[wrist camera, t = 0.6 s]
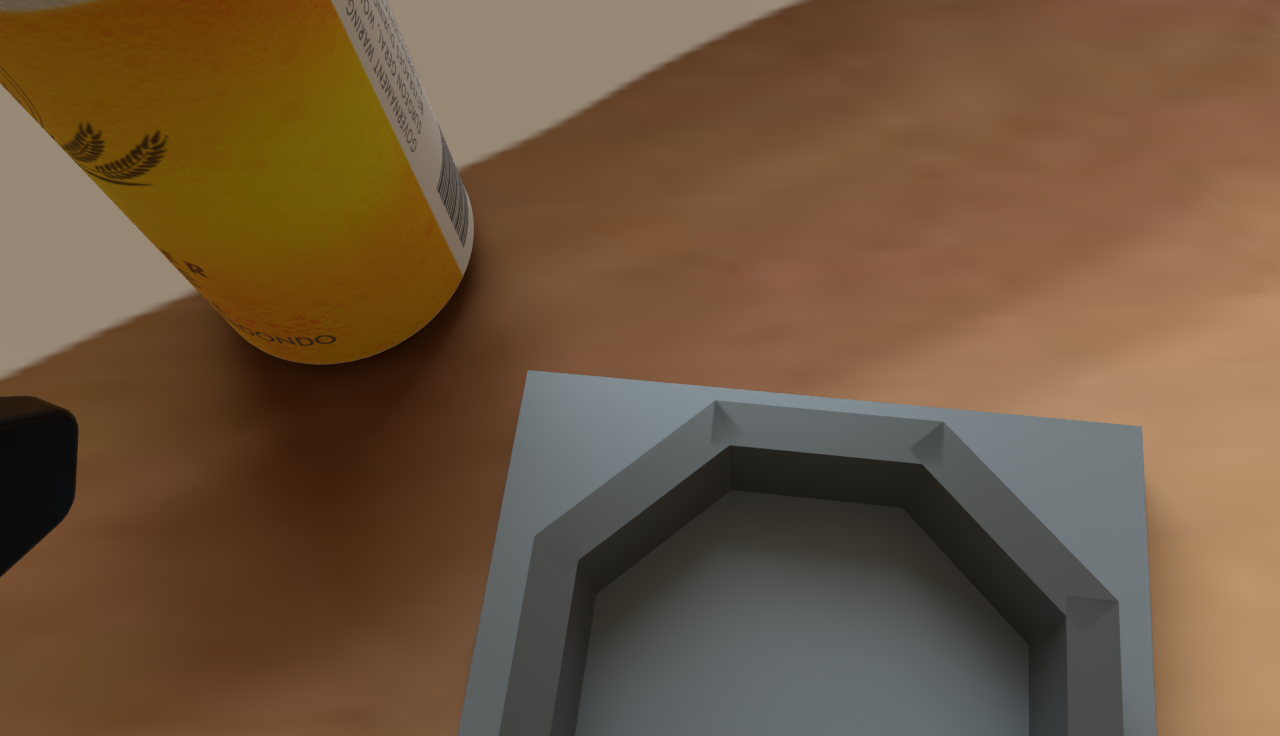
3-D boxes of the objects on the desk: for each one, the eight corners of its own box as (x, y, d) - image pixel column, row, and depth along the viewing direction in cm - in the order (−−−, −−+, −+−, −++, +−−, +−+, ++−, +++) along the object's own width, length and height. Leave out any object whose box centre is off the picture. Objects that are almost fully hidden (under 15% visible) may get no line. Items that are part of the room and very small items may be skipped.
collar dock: (1144, 1158, 18) (1249, 1235, 14) (422, 1032, 19) (346, 1070, 16) (1117, 452, 22) (1190, 373, 19) (540, 398, 24) (504, 314, 20)
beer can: (216, 187, 27) (-319, -500, 13) (457, 126, 27) (170, -616, 14) (238, 409, 24) (-397, -161, 11) (503, 341, 25) (206, -309, 11)
